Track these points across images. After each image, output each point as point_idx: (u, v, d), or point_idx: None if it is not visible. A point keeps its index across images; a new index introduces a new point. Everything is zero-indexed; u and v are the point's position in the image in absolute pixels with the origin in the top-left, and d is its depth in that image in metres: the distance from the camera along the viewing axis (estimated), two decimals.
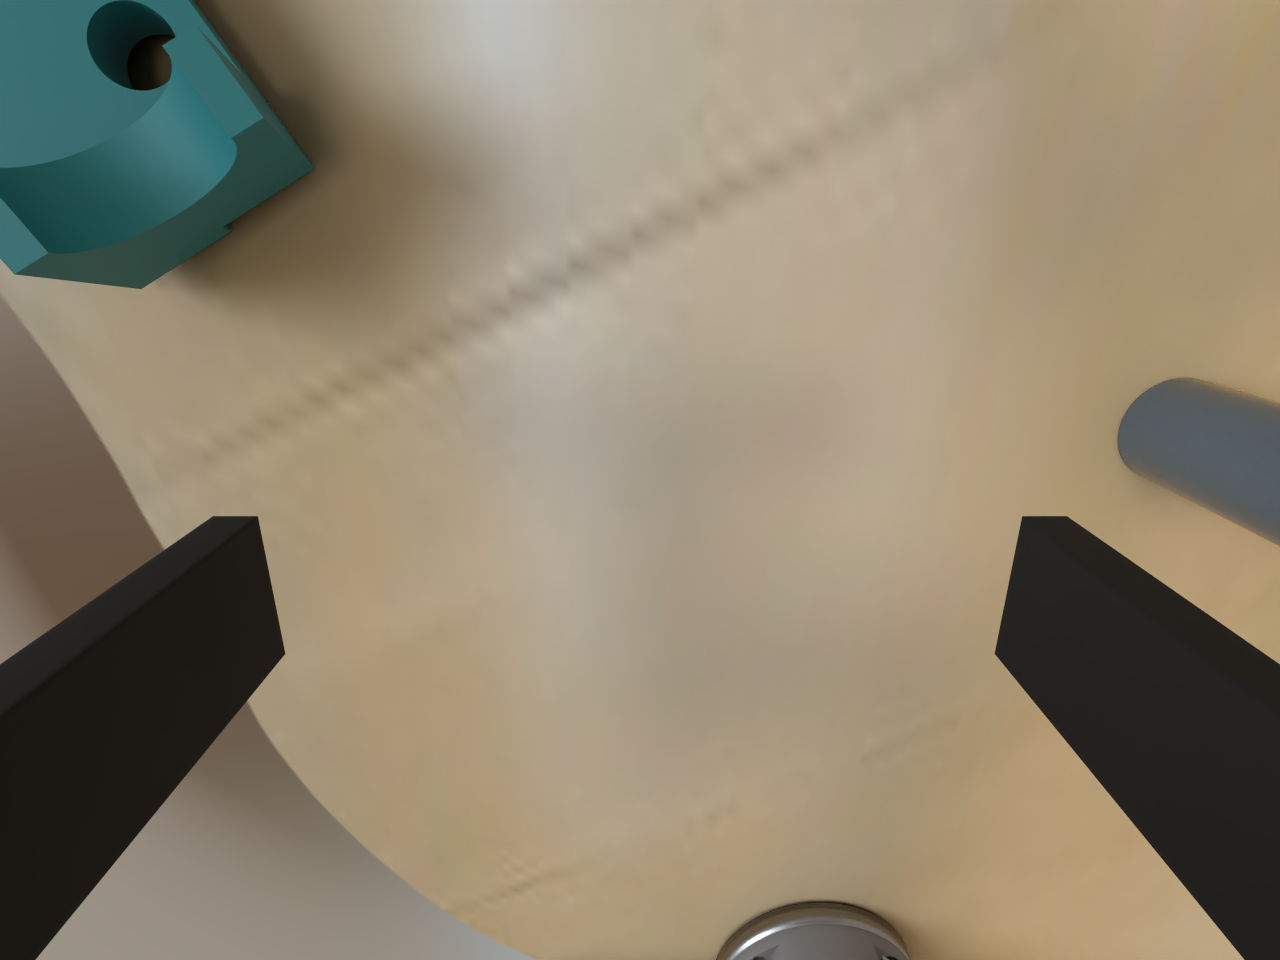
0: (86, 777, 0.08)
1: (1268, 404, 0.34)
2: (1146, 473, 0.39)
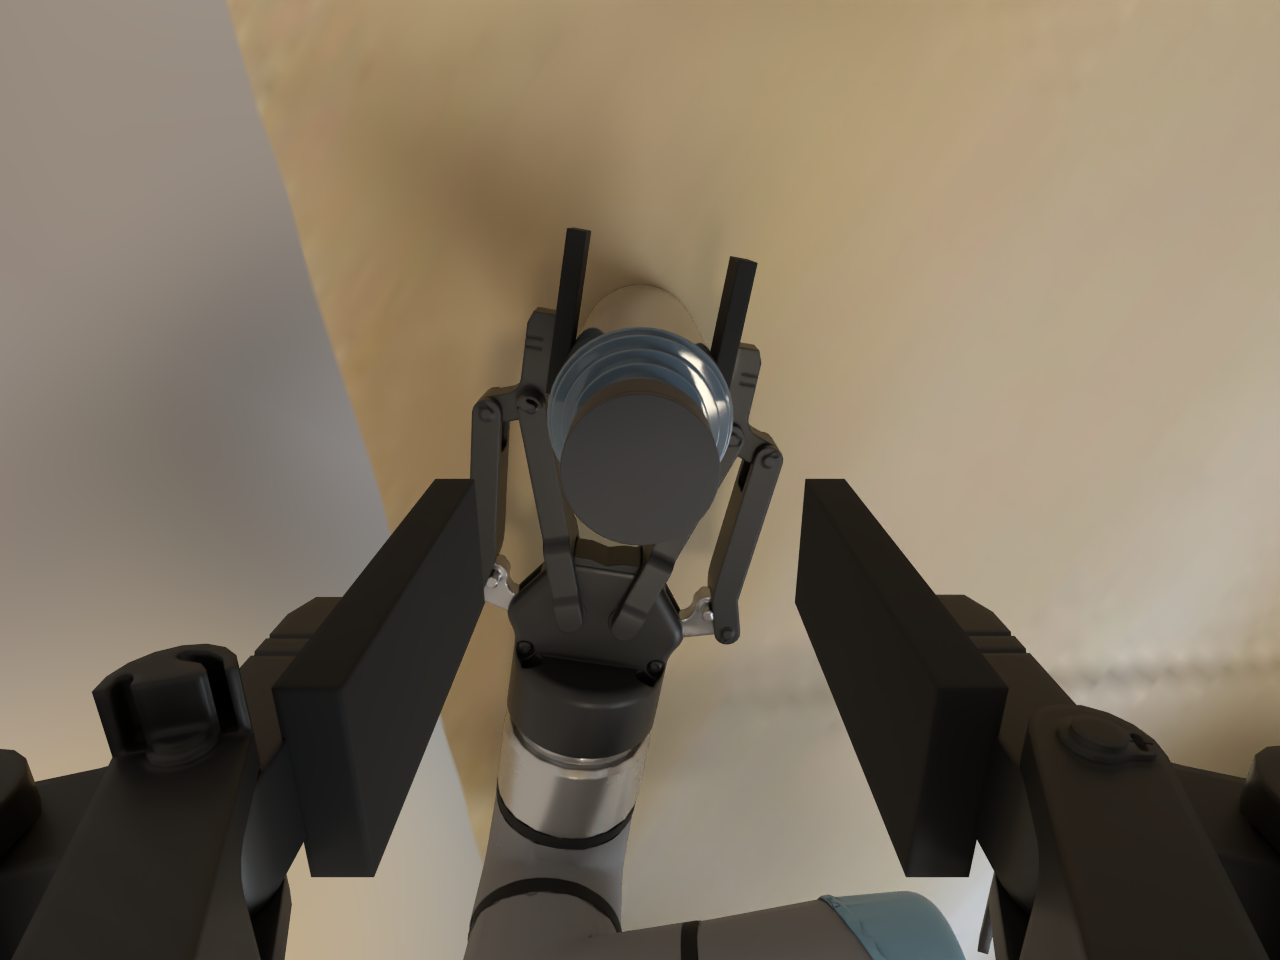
0: (413, 681, 0.10)
1: None
2: None
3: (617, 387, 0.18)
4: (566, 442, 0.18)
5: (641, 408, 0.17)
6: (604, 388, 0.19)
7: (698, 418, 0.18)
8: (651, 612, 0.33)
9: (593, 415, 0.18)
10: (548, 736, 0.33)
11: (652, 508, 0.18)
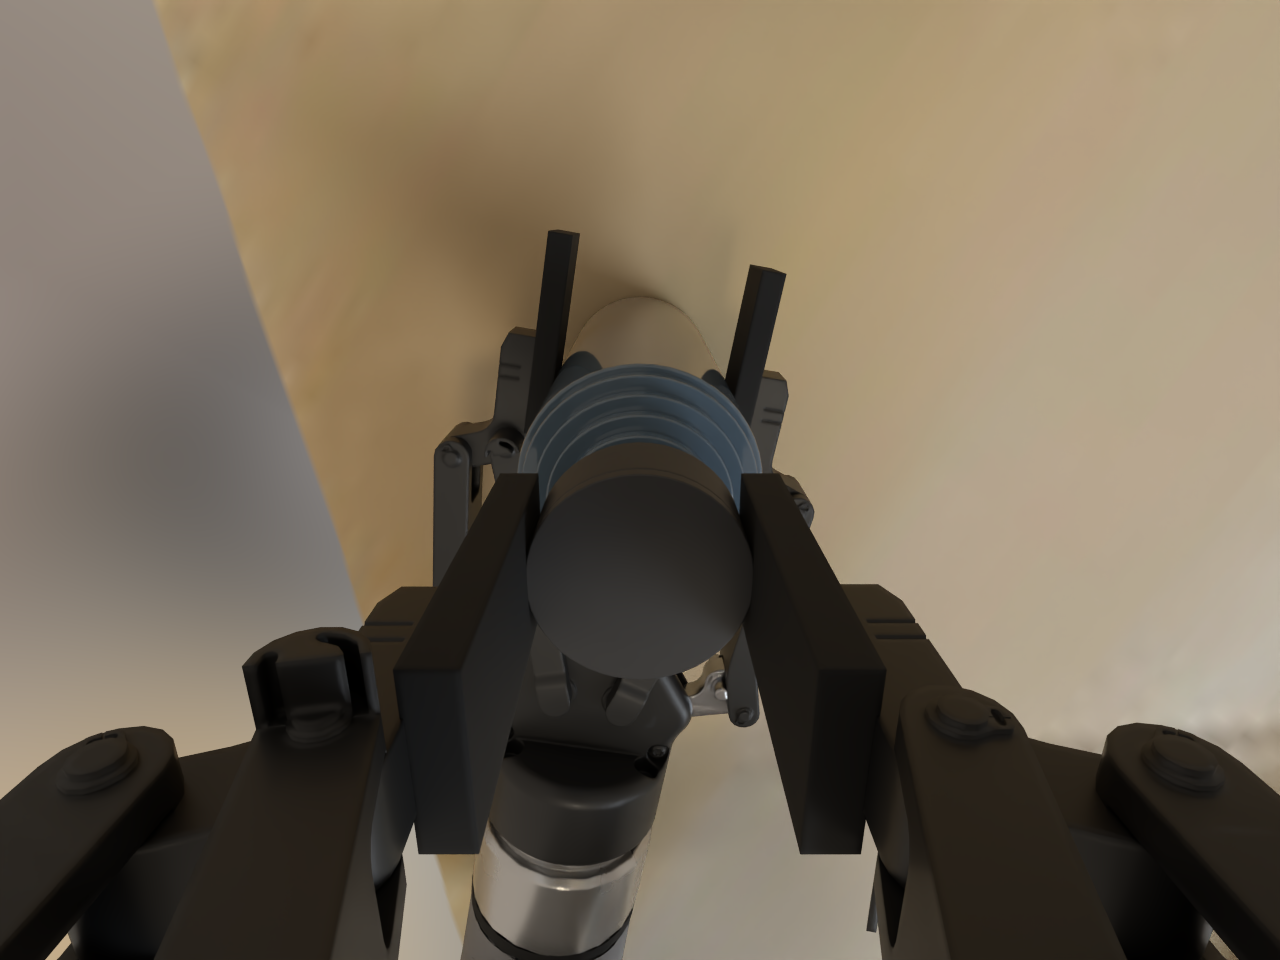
0: (502, 667, 0.10)
1: None
2: None
3: (607, 458, 0.13)
4: (533, 541, 0.12)
5: (641, 494, 0.12)
6: (589, 457, 0.14)
7: (724, 508, 0.12)
8: (653, 690, 0.28)
9: (571, 504, 0.12)
10: (529, 840, 0.27)
11: (657, 630, 0.13)
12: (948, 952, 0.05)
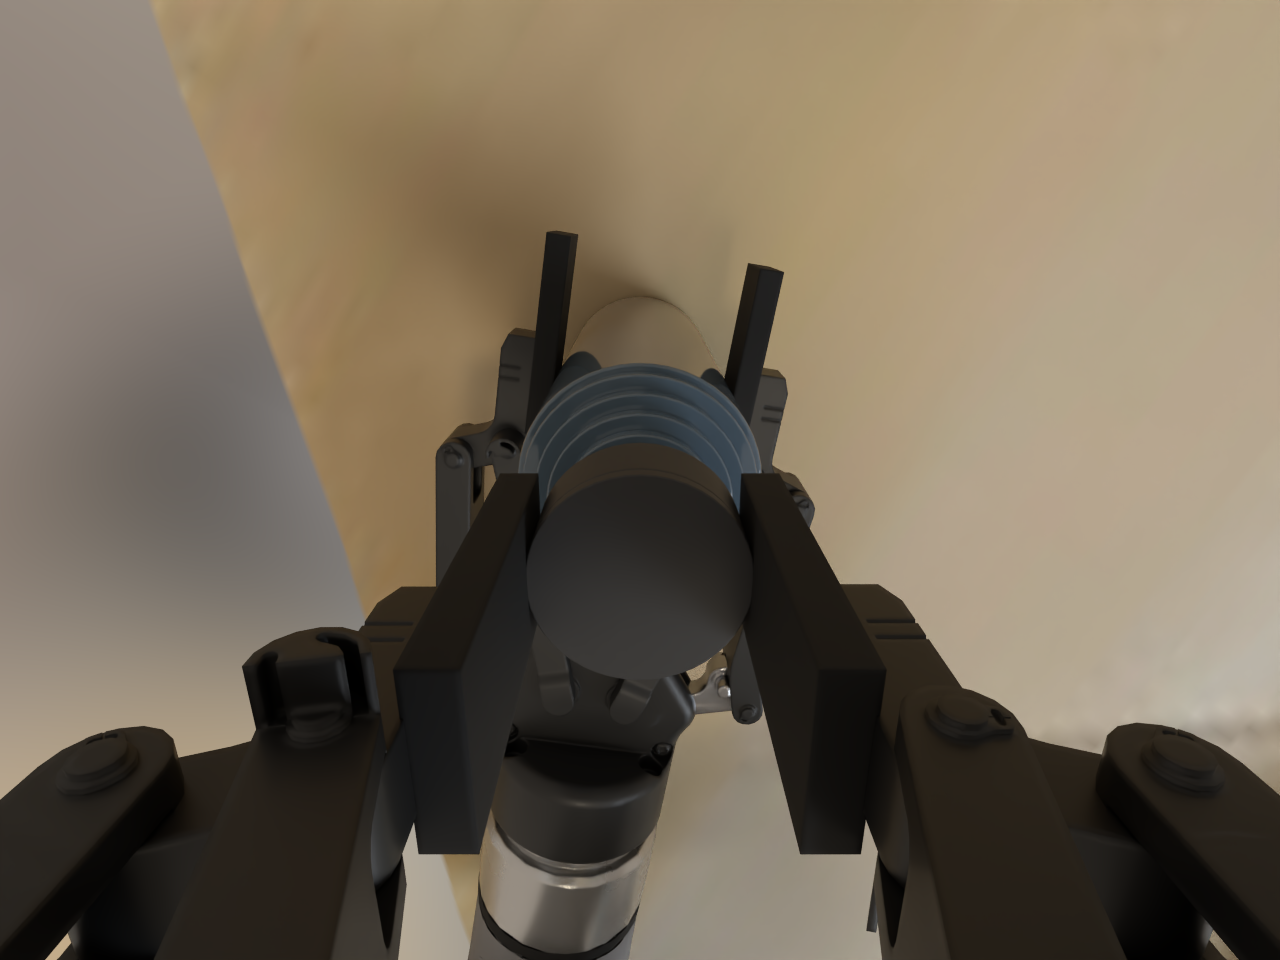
0: (502, 667, 0.10)
1: None
2: None
3: None
4: (620, 677, 0.13)
5: (547, 600, 0.13)
6: None
7: (540, 527, 0.12)
8: (656, 688, 0.28)
9: (575, 653, 0.13)
10: (535, 839, 0.27)
11: (690, 556, 0.12)
12: (948, 952, 0.05)
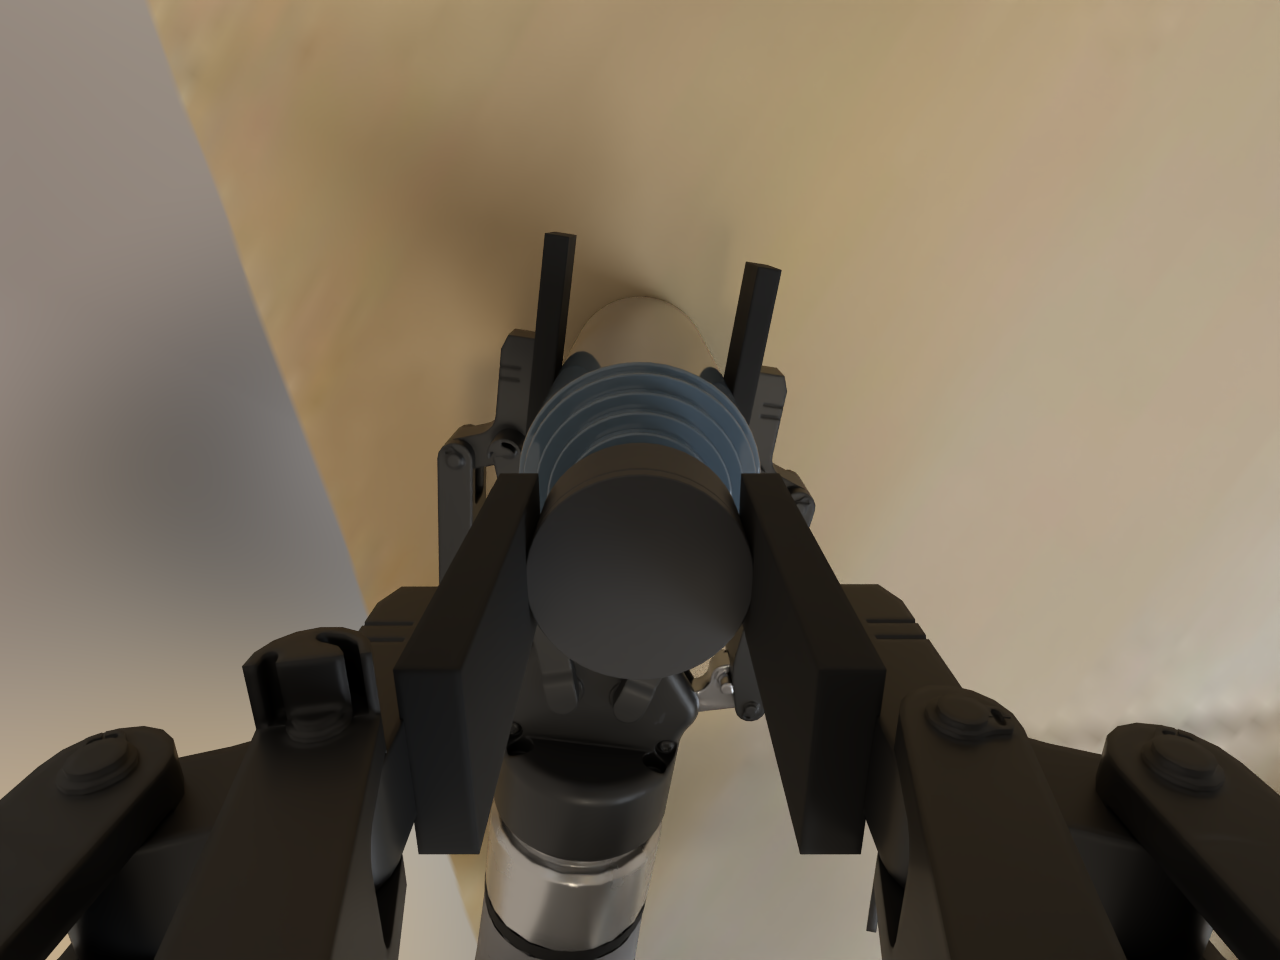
0: (502, 667, 0.10)
1: None
2: None
3: None
4: None
5: (678, 656, 0.13)
6: None
7: (603, 673, 0.13)
8: (660, 686, 0.28)
9: (732, 622, 0.13)
10: (540, 837, 0.27)
11: (598, 545, 0.12)
12: (948, 953, 0.05)
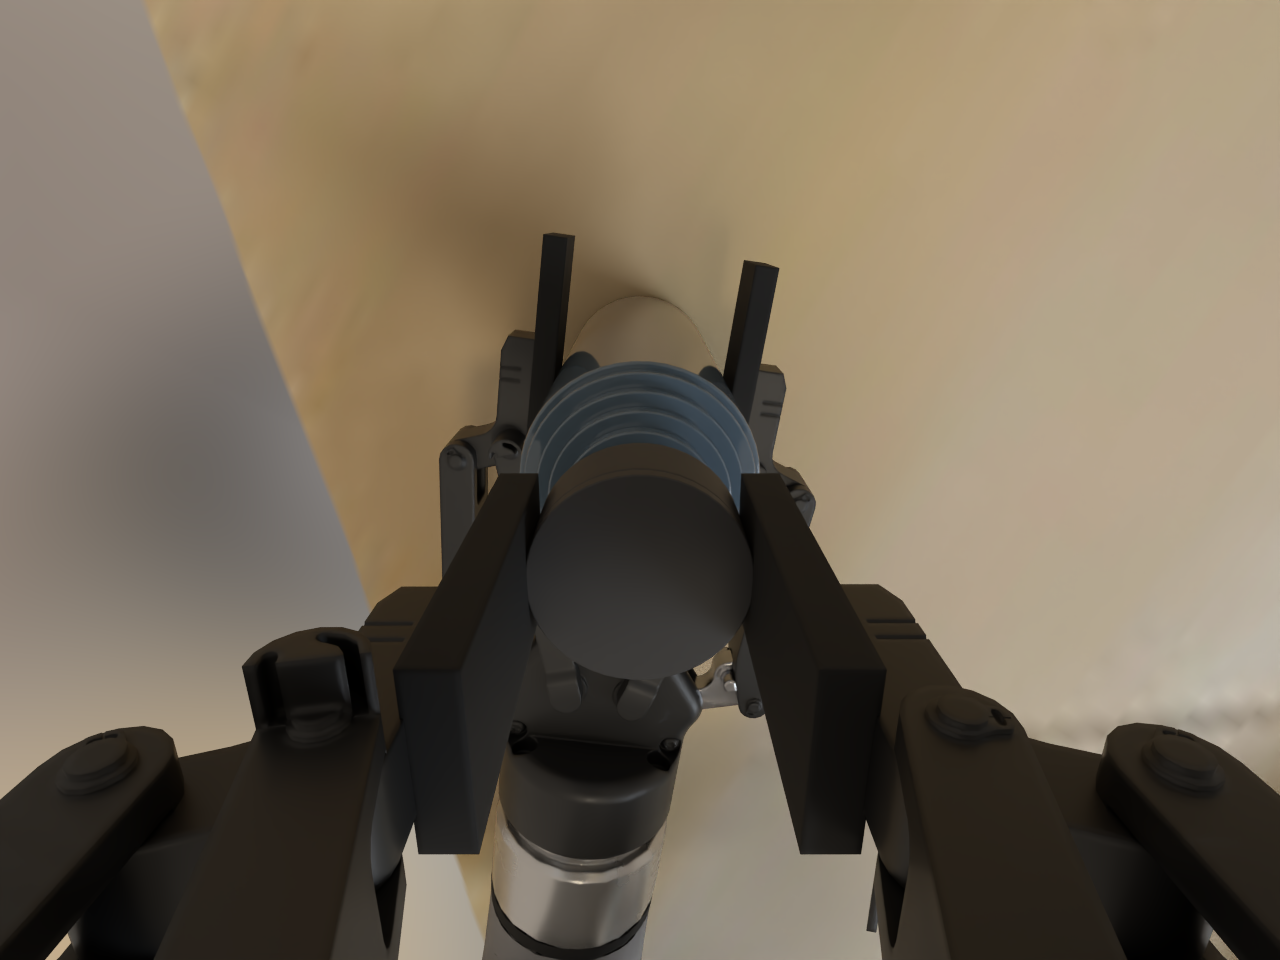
0: (502, 667, 0.10)
1: None
2: None
3: (702, 473, 0.13)
4: (607, 481, 0.12)
5: (716, 529, 0.12)
6: (681, 453, 0.14)
7: None
8: (663, 684, 0.28)
9: (664, 485, 0.12)
10: (546, 835, 0.28)
11: (609, 626, 0.13)
12: (948, 952, 0.05)
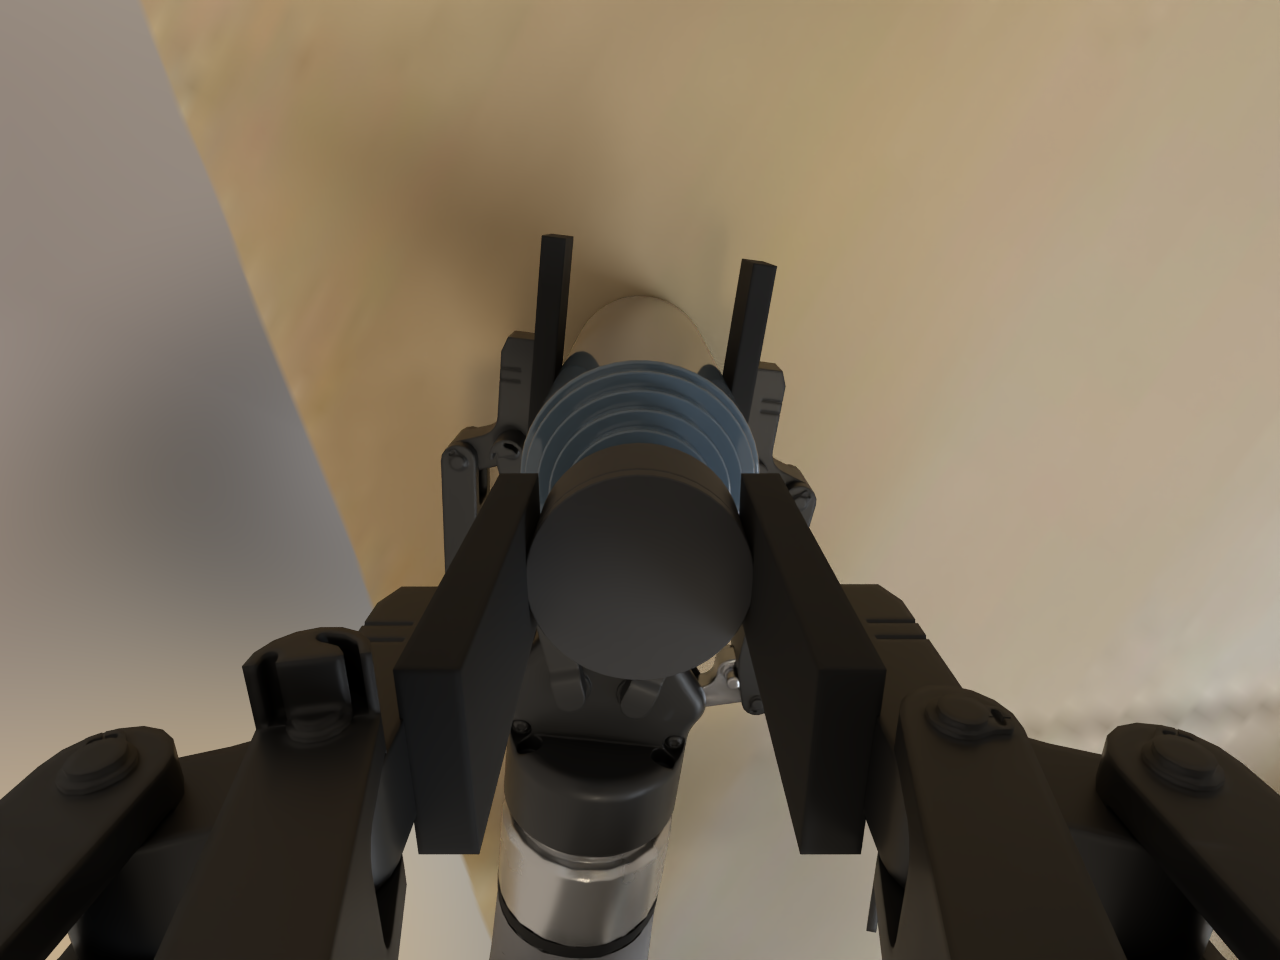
0: (502, 667, 0.10)
1: None
2: None
3: None
4: (542, 631, 0.13)
5: (563, 529, 0.12)
6: None
7: (624, 476, 0.12)
8: (666, 682, 0.28)
9: (533, 583, 0.13)
10: (551, 834, 0.28)
11: (694, 600, 0.13)
12: (948, 952, 0.05)
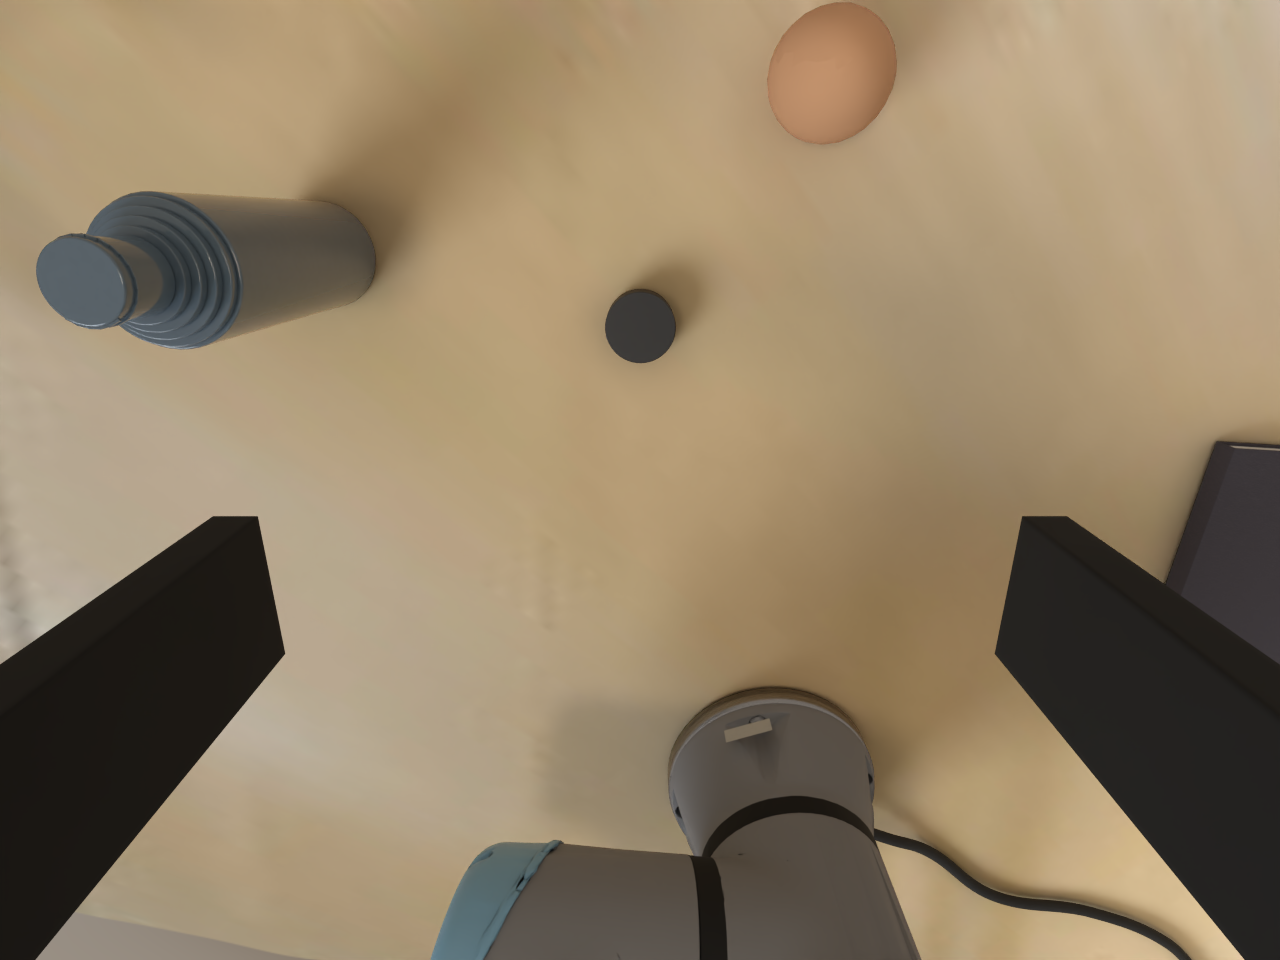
0: (86, 777, 0.08)
1: None
2: None
3: None
4: (610, 344, 0.42)
5: (617, 309, 0.41)
6: None
7: (636, 292, 0.41)
8: None
9: (608, 328, 0.41)
10: None
11: (657, 334, 0.41)
12: None
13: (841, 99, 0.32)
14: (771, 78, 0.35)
